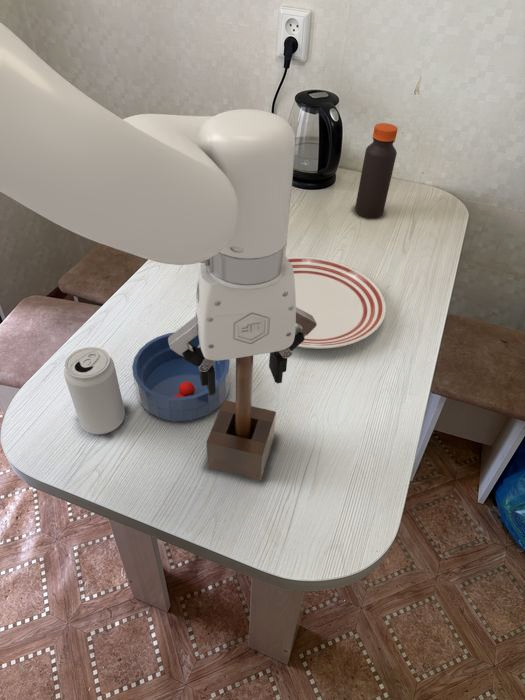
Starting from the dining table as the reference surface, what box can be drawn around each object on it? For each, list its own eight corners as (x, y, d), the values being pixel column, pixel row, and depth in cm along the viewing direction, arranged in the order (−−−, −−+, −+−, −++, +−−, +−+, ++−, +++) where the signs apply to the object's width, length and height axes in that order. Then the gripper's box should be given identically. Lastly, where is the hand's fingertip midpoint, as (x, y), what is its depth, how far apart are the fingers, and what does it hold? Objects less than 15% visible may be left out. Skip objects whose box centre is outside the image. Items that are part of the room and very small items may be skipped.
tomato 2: (179, 392, 74) (175, 381, 75) (182, 403, 75) (178, 392, 77) (194, 387, 74) (190, 376, 76) (198, 397, 76) (193, 387, 78)
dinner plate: (263, 255, 106) (264, 241, 104) (393, 285, 100) (397, 271, 98) (210, 336, 87) (210, 322, 85) (366, 379, 81) (370, 365, 79)
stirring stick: (233, 456, 70) (233, 352, 56) (237, 444, 71) (238, 341, 57) (247, 459, 70) (251, 356, 56) (251, 448, 71) (255, 344, 57)
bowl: (121, 412, 75) (115, 387, 71) (159, 348, 85) (155, 323, 81) (212, 434, 72) (211, 409, 69) (240, 366, 82) (240, 341, 79)
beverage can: (71, 428, 72) (50, 370, 64) (98, 397, 76) (81, 339, 68) (109, 443, 71) (93, 385, 62) (134, 410, 75) (122, 352, 67)
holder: (207, 468, 68) (206, 442, 64) (224, 426, 74) (223, 399, 69) (260, 481, 67) (262, 455, 63) (273, 438, 72) (276, 411, 68)
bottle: (350, 213, 121) (365, 128, 107) (361, 202, 125) (377, 119, 111) (376, 222, 118) (395, 135, 105) (387, 210, 123) (406, 126, 109)
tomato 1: (165, 402, 74) (170, 408, 72) (174, 388, 74) (180, 394, 72) (177, 409, 75) (183, 415, 73) (186, 396, 76) (192, 402, 74)
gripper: (158, 288, 43) (174, 418, 56) (346, 265, 47) (322, 391, 59) (148, 242, 48) (165, 370, 61) (318, 224, 52) (302, 348, 65)
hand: (243, 379), depth 60 cm, fingers open, 7 cm apart
